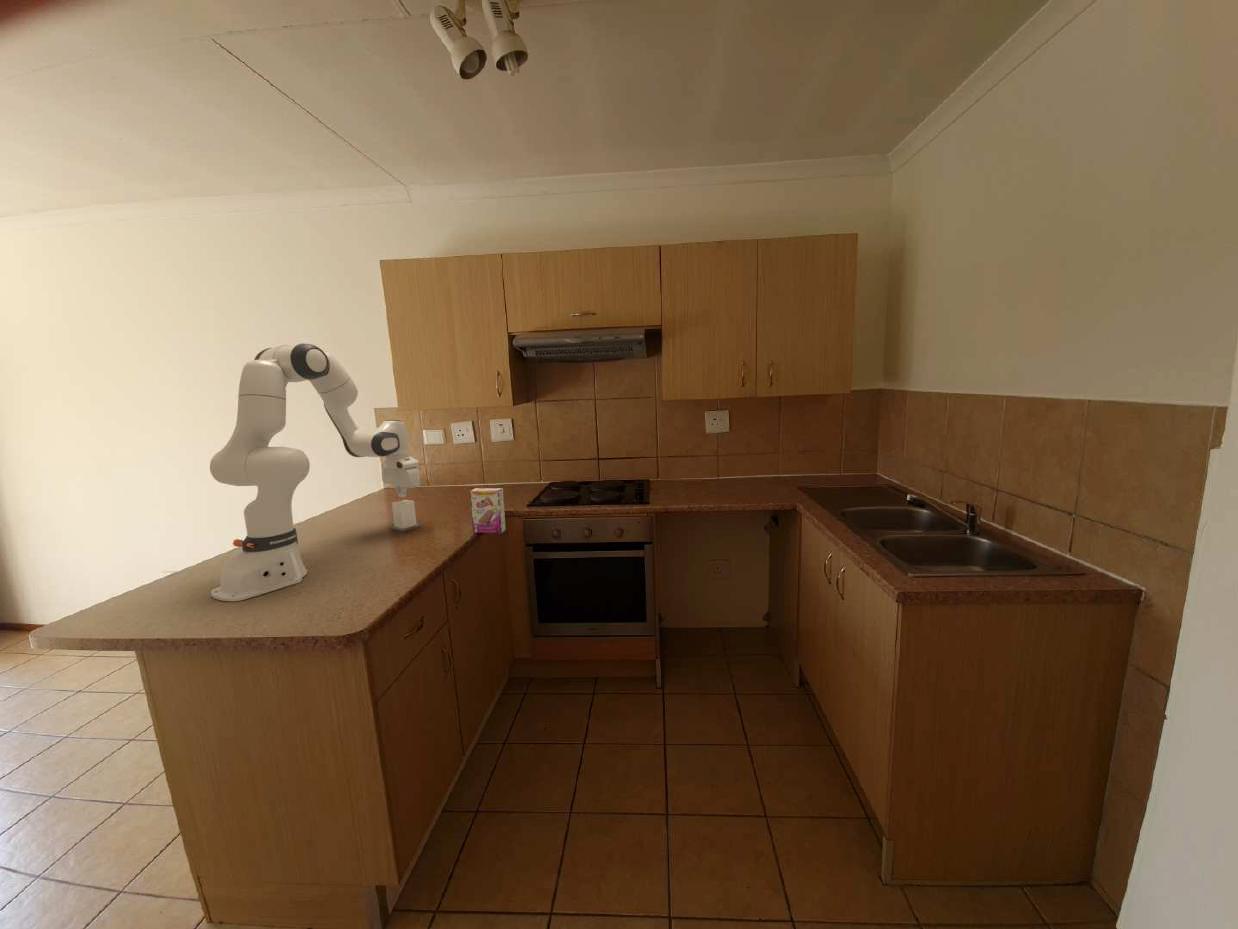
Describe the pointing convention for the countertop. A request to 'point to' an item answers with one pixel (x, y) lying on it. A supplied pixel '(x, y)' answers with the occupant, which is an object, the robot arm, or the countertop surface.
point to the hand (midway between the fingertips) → (402, 496)
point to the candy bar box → (488, 510)
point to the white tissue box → (404, 514)
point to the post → (405, 528)
